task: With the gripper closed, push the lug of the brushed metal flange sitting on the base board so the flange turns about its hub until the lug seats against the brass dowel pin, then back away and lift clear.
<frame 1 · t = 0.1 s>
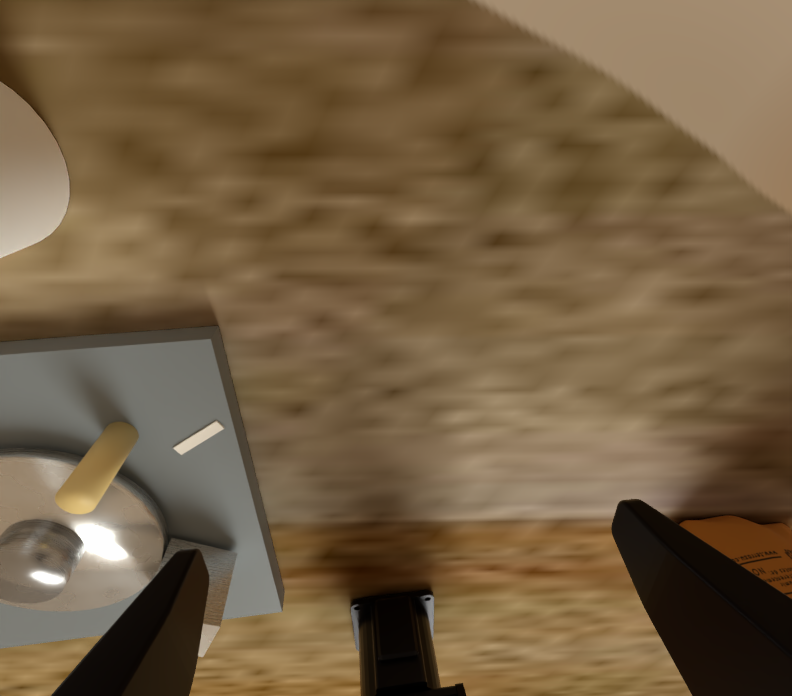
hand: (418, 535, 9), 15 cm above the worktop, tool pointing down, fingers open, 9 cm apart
base board: (72, 503, 26), on the worktop
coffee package: (709, 550, 37), on the worktop
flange: (65, 563, 23), point 4 cm above the worktop, hinge at 0.0°
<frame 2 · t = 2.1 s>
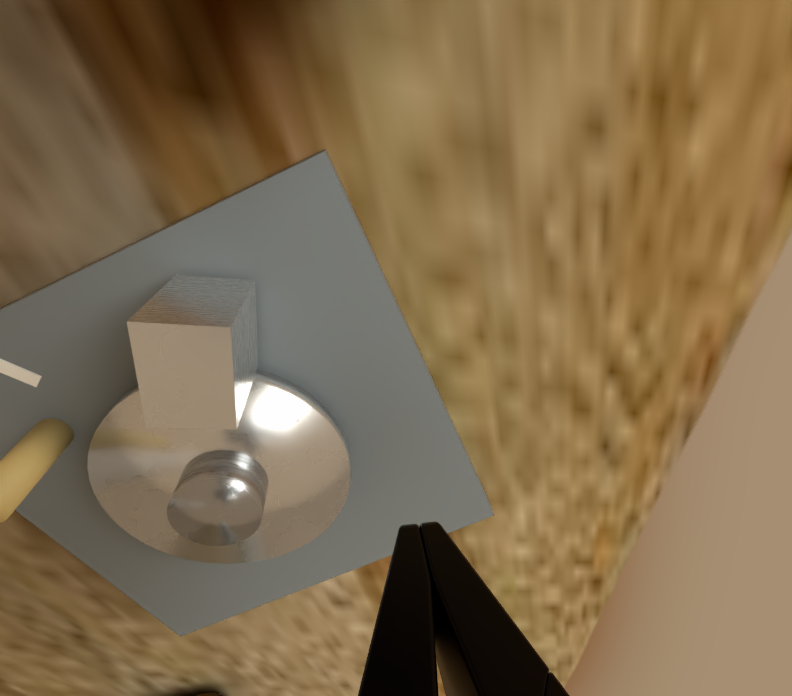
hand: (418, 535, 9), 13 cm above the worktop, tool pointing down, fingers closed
base board: (238, 442, 23), on the worktop
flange: (199, 476, 19), point 4 cm above the worktop, hinge at 0.0°
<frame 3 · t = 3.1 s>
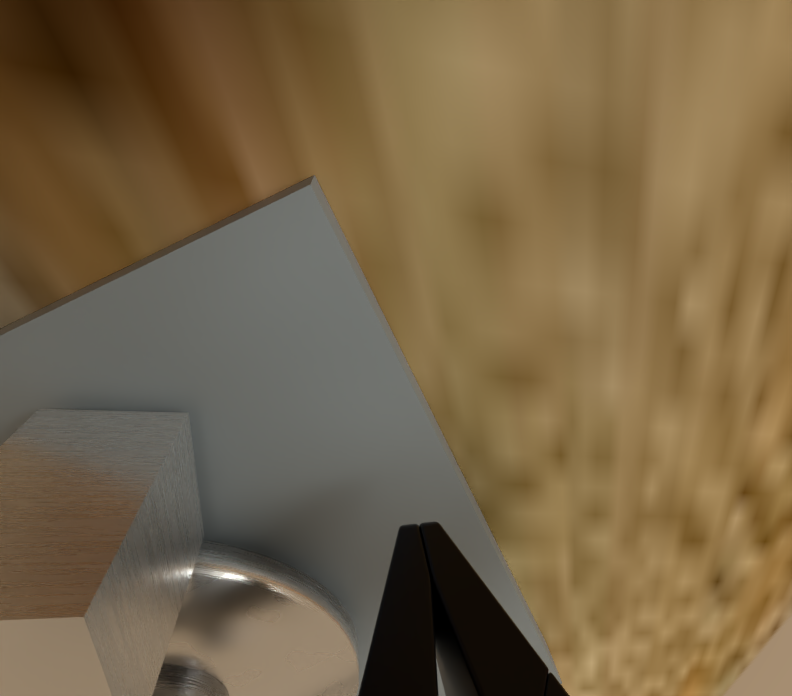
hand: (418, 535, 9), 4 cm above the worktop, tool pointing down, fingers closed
base board: (189, 605, 16), on the worktop
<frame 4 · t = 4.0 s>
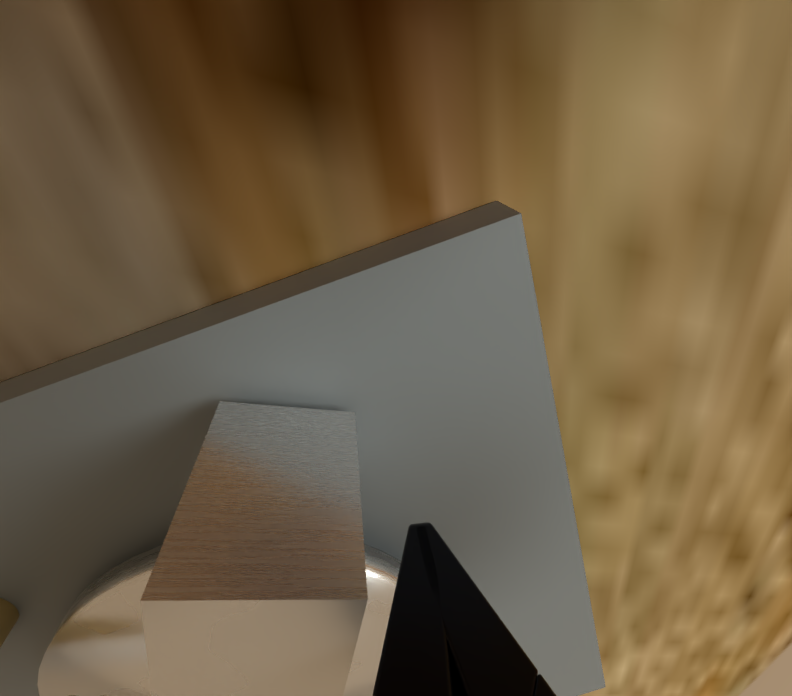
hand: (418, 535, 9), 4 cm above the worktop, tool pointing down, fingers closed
base board: (272, 598, 16), on the worktop
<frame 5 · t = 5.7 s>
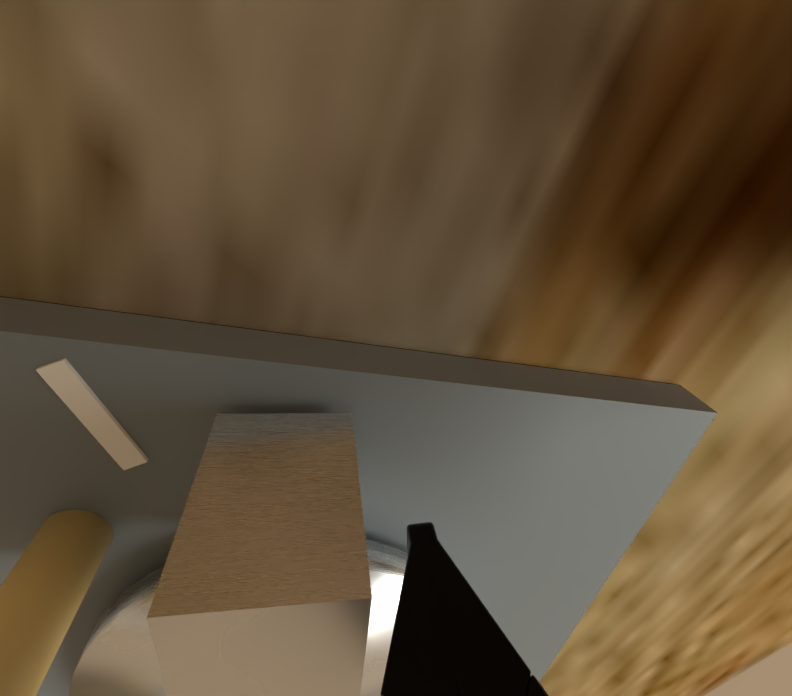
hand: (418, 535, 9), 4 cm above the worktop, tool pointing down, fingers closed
base board: (293, 602, 16), on the worktop
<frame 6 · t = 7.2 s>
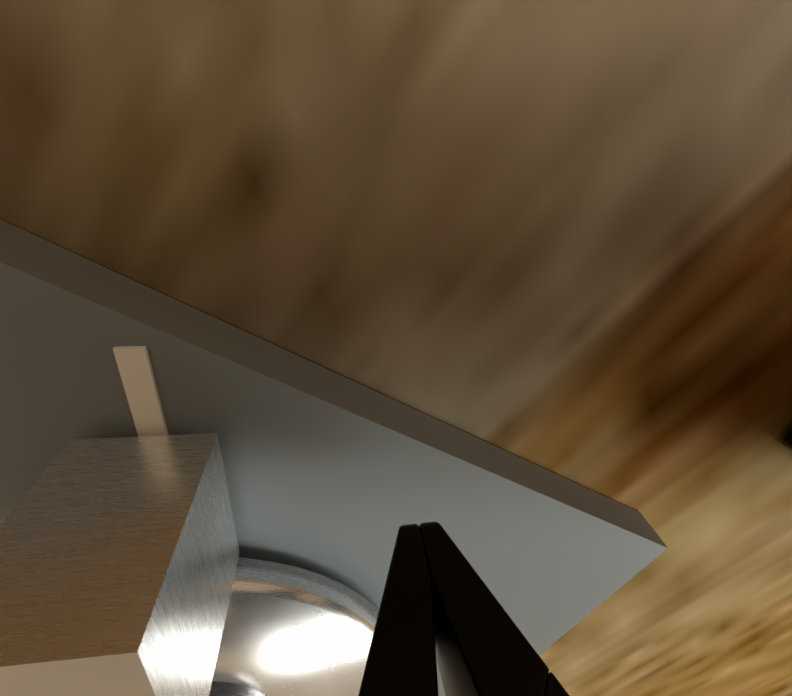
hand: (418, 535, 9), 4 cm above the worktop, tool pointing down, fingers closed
base board: (226, 620, 16), on the worktop
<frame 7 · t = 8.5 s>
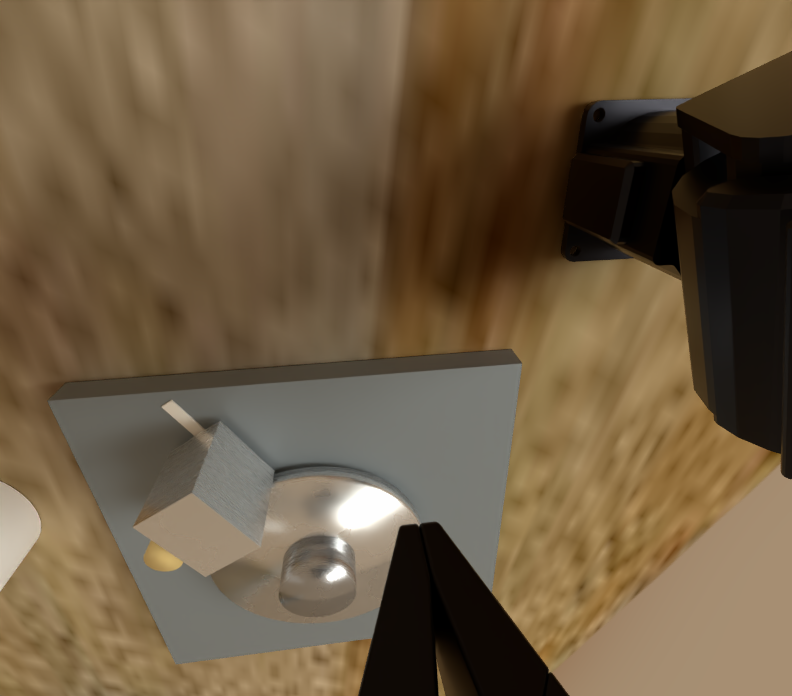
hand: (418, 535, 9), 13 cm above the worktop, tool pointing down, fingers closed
base board: (321, 518, 27), on the worktop
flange: (289, 572, 23), point 4 cm above the worktop, hinge at 60.0°
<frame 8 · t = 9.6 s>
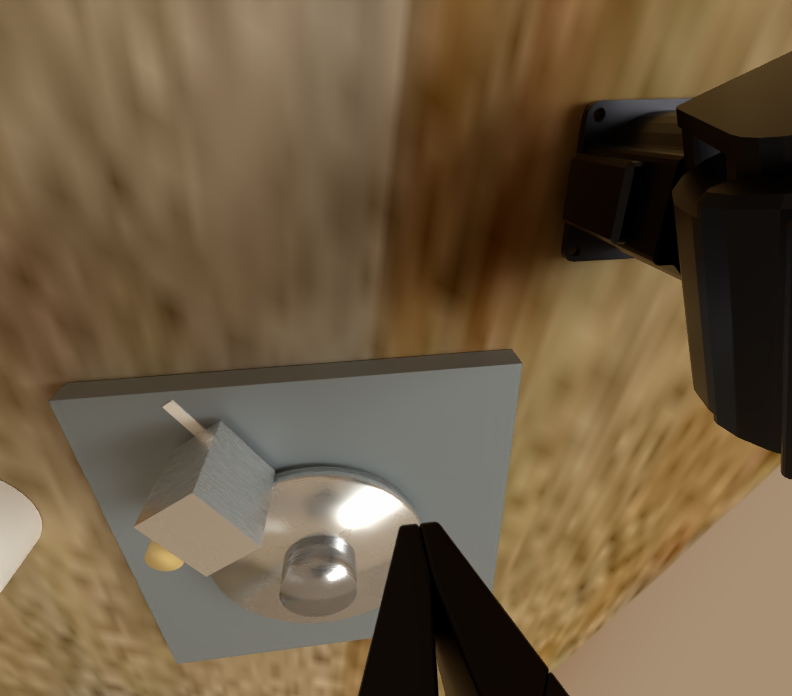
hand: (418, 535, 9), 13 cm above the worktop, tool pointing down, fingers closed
base board: (322, 517, 27), on the worktop
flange: (290, 571, 23), point 4 cm above the worktop, hinge at 60.0°
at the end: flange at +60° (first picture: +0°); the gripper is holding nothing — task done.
